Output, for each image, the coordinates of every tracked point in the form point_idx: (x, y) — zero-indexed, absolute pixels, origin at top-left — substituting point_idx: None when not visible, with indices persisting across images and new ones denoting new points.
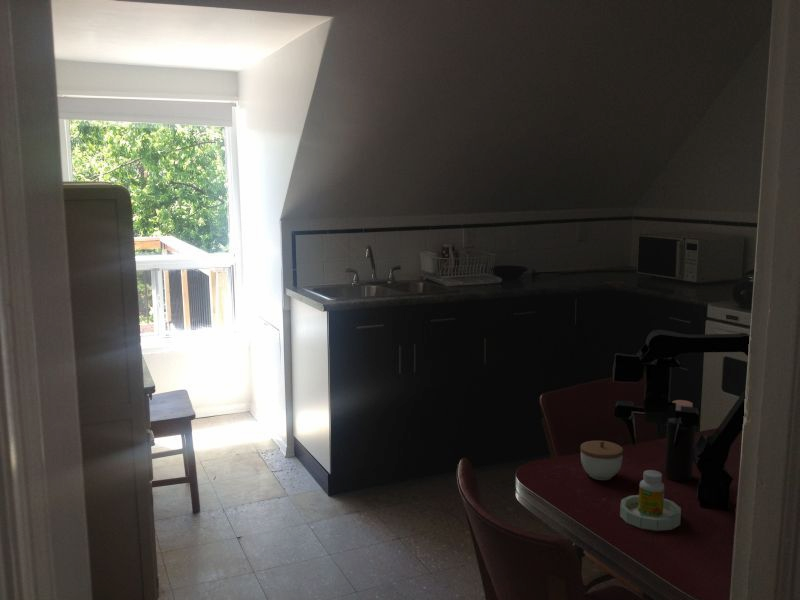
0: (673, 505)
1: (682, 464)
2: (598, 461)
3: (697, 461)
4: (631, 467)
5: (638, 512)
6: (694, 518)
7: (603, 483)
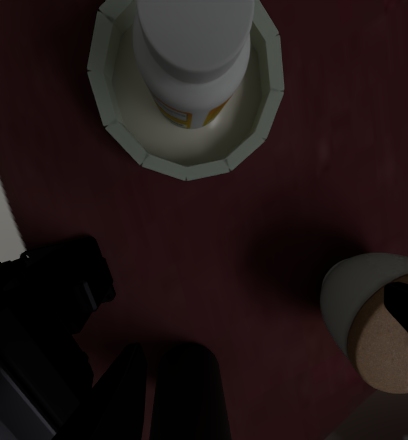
0: (129, 134)
1: (172, 390)
2: (406, 265)
3: (9, 313)
4: (290, 359)
5: None
6: (82, 153)
7: (336, 244)
